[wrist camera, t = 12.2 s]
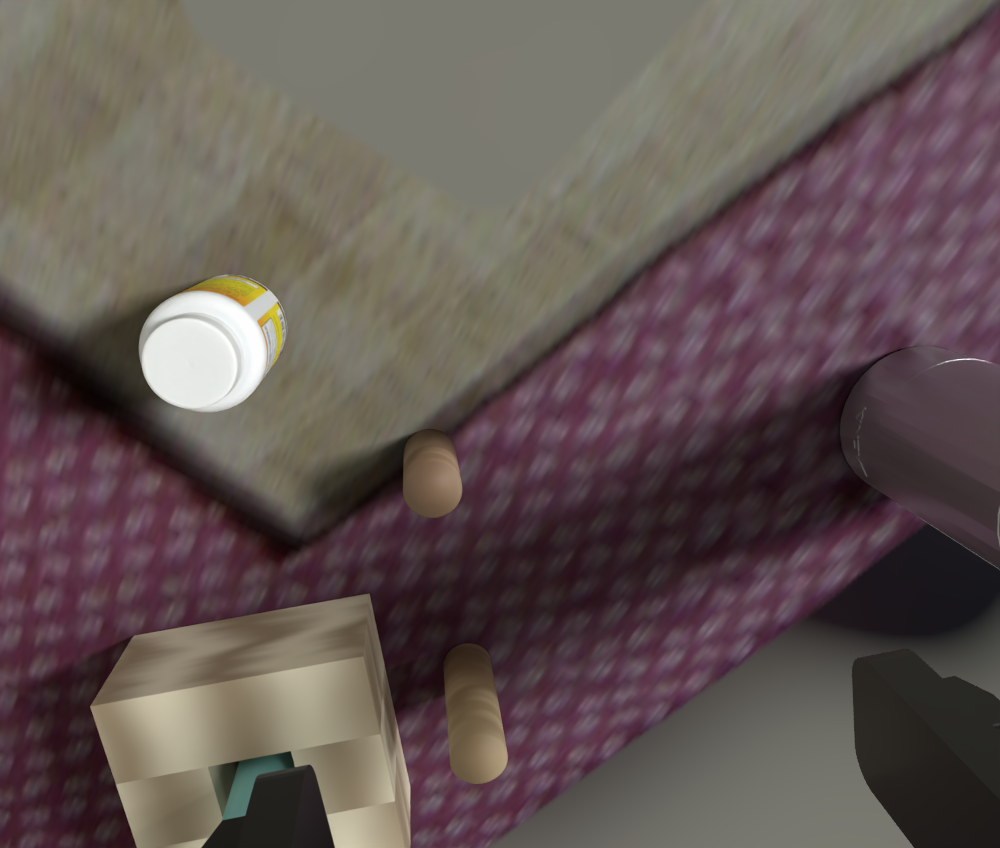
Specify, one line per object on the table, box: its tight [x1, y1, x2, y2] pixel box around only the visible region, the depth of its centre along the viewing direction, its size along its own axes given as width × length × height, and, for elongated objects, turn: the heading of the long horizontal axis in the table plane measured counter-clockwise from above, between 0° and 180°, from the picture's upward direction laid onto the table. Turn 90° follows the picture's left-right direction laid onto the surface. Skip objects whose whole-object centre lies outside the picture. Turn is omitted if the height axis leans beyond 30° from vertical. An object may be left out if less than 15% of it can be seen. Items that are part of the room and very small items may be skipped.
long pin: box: [222, 751, 294, 820], centre depth 45 cm, size 3×3×14 cm
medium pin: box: [443, 643, 508, 784], centre depth 48 cm, size 3×3×9 cm
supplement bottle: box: [139, 275, 287, 412], centre depth 40 cm, size 6×6×10 cm
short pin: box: [403, 429, 462, 518], centre depth 45 cm, size 3×3×6 cm
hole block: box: [90, 593, 410, 848], centre depth 48 cm, size 14×14×7 cm
